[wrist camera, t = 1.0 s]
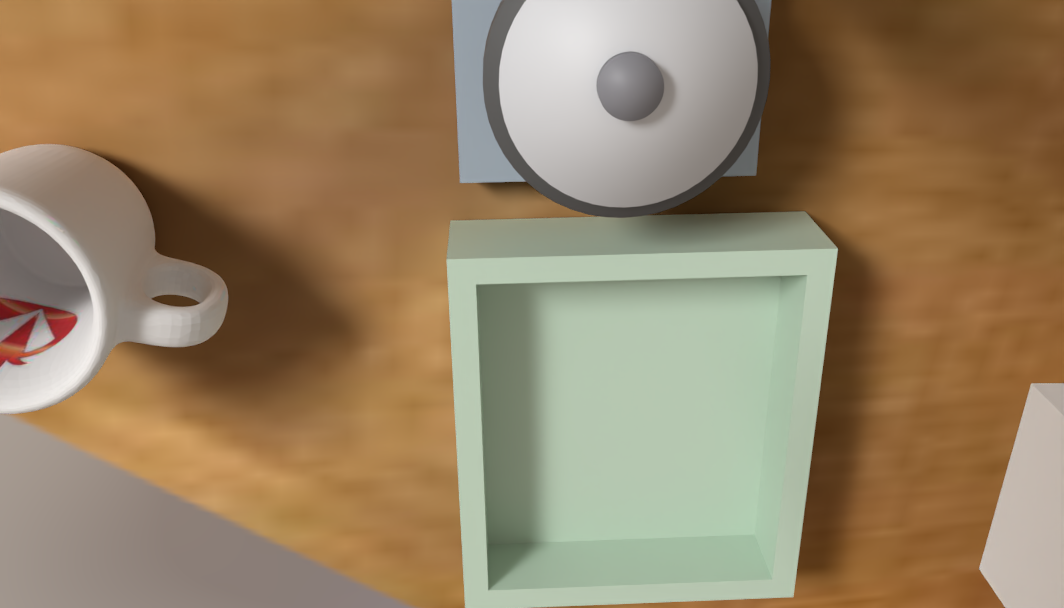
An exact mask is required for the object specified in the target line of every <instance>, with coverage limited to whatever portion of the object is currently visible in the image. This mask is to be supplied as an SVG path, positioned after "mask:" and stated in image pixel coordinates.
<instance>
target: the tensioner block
mask: <svg viewBox="0 0 1064 608" xmlns="http://www.w3.org/2000/svg"><path fill="white" fill-rule="evenodd" d="M770 10H771V0H452V17H453V39H454V61H455V83H456V105H457V127H458V149H459V171H460V183H482V182H522V181H526V182H527V183H528V184H530V185H531V186H532V187H533V188H535V189H536V190H537V191H538V192H540V193H541V194H543V195H544V196H546V197H547V198H549V199H551V200H552V201H554V202H556V203H558V204H560V205H563V206H565V207H567V208H569V209H572V210H575V211H578V212H582V213H585V214H589V215H595V216H601V217H613V218H627V217H639V216H645V215H649V214H654V213H659V212H661V211H664V210H667V209H670V208H673V207H676V206H678V205H680V204H682V203H684V202H686V201H688V200H690V199H692V198H694V197H695V196H697V195H698V194H700V193H702V192H703V191H705V190H706V189H708V188H709V187H710V186H711V185H712V184H714V183H715V182H716V181H717V180H719V179H720V178H721V177H722V176H756V171H757V159H758V148H759V136H760V125H761V116H762V113H763V110H764V106H765V103H766V99H767V95H768V88H769V82H770V50H769V41H768V33H769V22H770Z"/></svg>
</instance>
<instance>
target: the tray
mask: <svg viewBox="0 0 1064 608" xmlns="http://www.w3.org/2000/svg"><path fill="white" fill-rule="evenodd" d="M837 252H838V248H837V247H836V246H835V245H834V243H833V242H832V241H831V240H830V239H829V238H828V237H827V236H826V234H825V233H824V232H823V231H822V230H821V229H820V228H819V227H818V225H817V224H816V223H815V222H814V221H813V220H812V219H811V218H810V216H809V215H808V214H807V213H806V212H805V211H797V212H759V213H721V214H683V215H645V216H639V217H627V218H613V217H570V218H532V219H494V220H456V221H450V230H449V240H448V251H447V275H448V294H449V313H450V332H451V350H452V369H453V388H454V406H455V425H456V444H457V463H458V481H459V500H460V519H461V538H462V556H463V575H464V594H465V608H530V607H555V606H581V605H606V604H631V603H656V602H682V601H707V600H732V599H757V598H783V597H793V596H794V588H795V580H796V573H797V565H798V557H799V549H800V541H801V534H802V526H803V518H804V510H805V502H806V495H807V487H808V479H809V471H810V463H811V455H812V448H813V440H814V432H815V424H816V416H817V409H818V401H819V393H820V385H821V377H822V370H823V362H824V354H825V346H826V338H827V331H828V323H829V315H830V307H831V299H832V292H833V284H834V276H835V268H836V260H837Z"/></svg>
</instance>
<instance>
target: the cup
mask: <svg viewBox="0 0 1064 608" xmlns="http://www.w3.org/2000/svg"><path fill="white" fill-rule="evenodd" d="M160 295H180V296H185V297H189V298H191V299H194V300H196V301H198V302H199V303H200V304H198V305H195V306H188V307H177V306H170V305H166V304H162V303H159V302H156V301H154V300H152V299H151V298H154V297H156V296H160ZM227 306H228V290H227V287H226V284H225V282H224V281H223V279H222V278H221V277H220V276H219V275H218V274H216V273H215V272H213V271H211V270H210V269H208V268H206V267H203V266H201V265H198V264H195V263H191V262H187V261H183V260H179V259H174V258H170V257H166V256H163V255H161V254H159V253H158V252H157V251H156V250H155V230H154V224H153V219H152V216H151V213H150V210H149V208H148V205H147V203H146V201H145V199H144V198H143V196H142V194H141V192H140V191H139V190H138V188H137V187H136V186H135V184H134V183H133V182H132V181H131V180H130V179H129V178H128V177H127V176H126V175H125V174H124V173H123V172H122V171H121V170H120V169H119V168H117V167H116V166H115V165H113V164H112V163H110V162H109V161H107V160H105V159H104V158H102V157H100V156H98V155H96V154H94V153H91V152H89V151H86V150H83V149H80V148H76V147H72V146H67V145H59V144H38V145H31V146H24V147H20V148H17V149H13V150H9V151H7V152H4V153H1V154H0V414H17V413H26V412H32V411H36V410H40V409H44V408H47V407H50V406H53V405H55V404H58V403H60V402H62V401H64V400H66V399H68V398H69V397H71V396H73V395H74V394H75V393H77V392H78V391H79V390H81V389H82V388H83V387H85V386H86V385H87V384H88V383H89V382H90V381H91V380H92V378H93V377H94V376H95V375H96V374H97V373H98V371H99V370H100V368H101V367H102V365H103V364H104V362H105V360H106V358H107V357H108V355H109V353H110V352H111V350H112V349H113V348H114V347H115V346H116V345H117V344H119V343H121V342H127V341H131V342H137V343H143V344H149V345H156V346H163V347H187V346H192V345H196V344H200V343H202V342H204V341H206V340H208V339H209V338H210V337H212V336H213V335H214V334H215V333H216V332H217V331H218V329H219V328H220V326H221V325H222V323H223V321H224V318H225V314H226V311H227Z"/></svg>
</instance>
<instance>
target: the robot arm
mask: <svg viewBox="0 0 1064 608" xmlns="http://www.w3.org/2000/svg"><path fill="white" fill-rule="evenodd" d="M979 570H980V571H981V572H982V574H983V575H984V577H985V578H986V580H987V581H988V583H989V584H990V586H991V587H992V589H993V590H994V592H995V593H996V595H997V596H998V598H999V599H1000V601H1001V602H1002V604H1003V605H1004V606H1005V608H1064V383H1031V386H1030V390H1029V393H1028V397H1027V401H1026V404H1025V408H1024V411H1023V415H1022V418H1021V422H1020V425H1019V429H1018V432H1017V436H1016V440H1015V443H1014V447H1013V450H1012V454H1011V457H1010V461H1009V464H1008V468H1007V471H1006V475H1005V479H1004V482H1003V486H1002V489H1001V493H1000V496H999V500H998V503H997V507H996V510H995V514H994V518H993V521H992V525H991V528H990V532H989V535H988V539H987V542H986V546H985V550H984V553H983V557H982V560H981V564H980V567H979Z"/></svg>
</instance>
